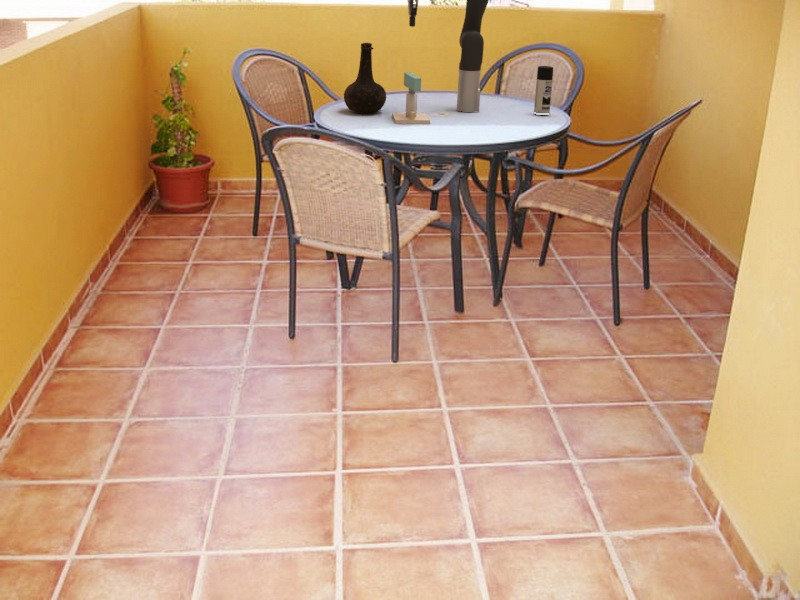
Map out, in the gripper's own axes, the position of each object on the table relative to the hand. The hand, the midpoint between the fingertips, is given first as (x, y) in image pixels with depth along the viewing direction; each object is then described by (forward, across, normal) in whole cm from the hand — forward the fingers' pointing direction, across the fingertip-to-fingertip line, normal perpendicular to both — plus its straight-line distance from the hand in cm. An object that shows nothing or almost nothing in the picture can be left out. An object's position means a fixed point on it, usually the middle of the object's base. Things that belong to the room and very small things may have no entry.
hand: (412, 26), depth 343 cm
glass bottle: (+35, 0, -19) cm, 40 cm away
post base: (+35, +16, -1) cm, 38 cm away
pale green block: (+24, +16, -1) cm, 29 cm away
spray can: (+35, +1, +57) cm, 67 cm away
